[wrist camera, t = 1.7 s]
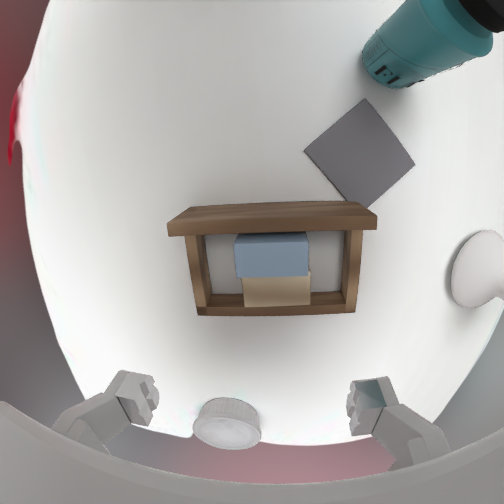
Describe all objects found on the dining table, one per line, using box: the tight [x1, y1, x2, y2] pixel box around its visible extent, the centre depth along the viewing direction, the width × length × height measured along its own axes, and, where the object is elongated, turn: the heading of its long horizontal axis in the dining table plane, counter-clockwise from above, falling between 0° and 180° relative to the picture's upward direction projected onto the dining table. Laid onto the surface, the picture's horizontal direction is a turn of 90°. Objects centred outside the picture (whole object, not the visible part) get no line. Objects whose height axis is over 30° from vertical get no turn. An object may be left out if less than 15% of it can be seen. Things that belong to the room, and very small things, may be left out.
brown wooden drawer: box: [167, 201, 377, 316], centre depth 28 cm, size 12×18×7 cm, turn 94°
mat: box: [304, 99, 415, 208], centre depth 26 cm, size 9×9×1 cm
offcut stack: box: [242, 265, 311, 307], centre depth 30 cm, size 4×7×4 cm, turn 95°
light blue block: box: [234, 231, 309, 278], centre depth 26 cm, size 3×6×8 cm, turn 94°
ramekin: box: [193, 398, 261, 450], centre depth 40 cm, size 11×11×5 cm
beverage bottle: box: [362, 0, 504, 89], centre depth 13 cm, size 6×7×20 cm
